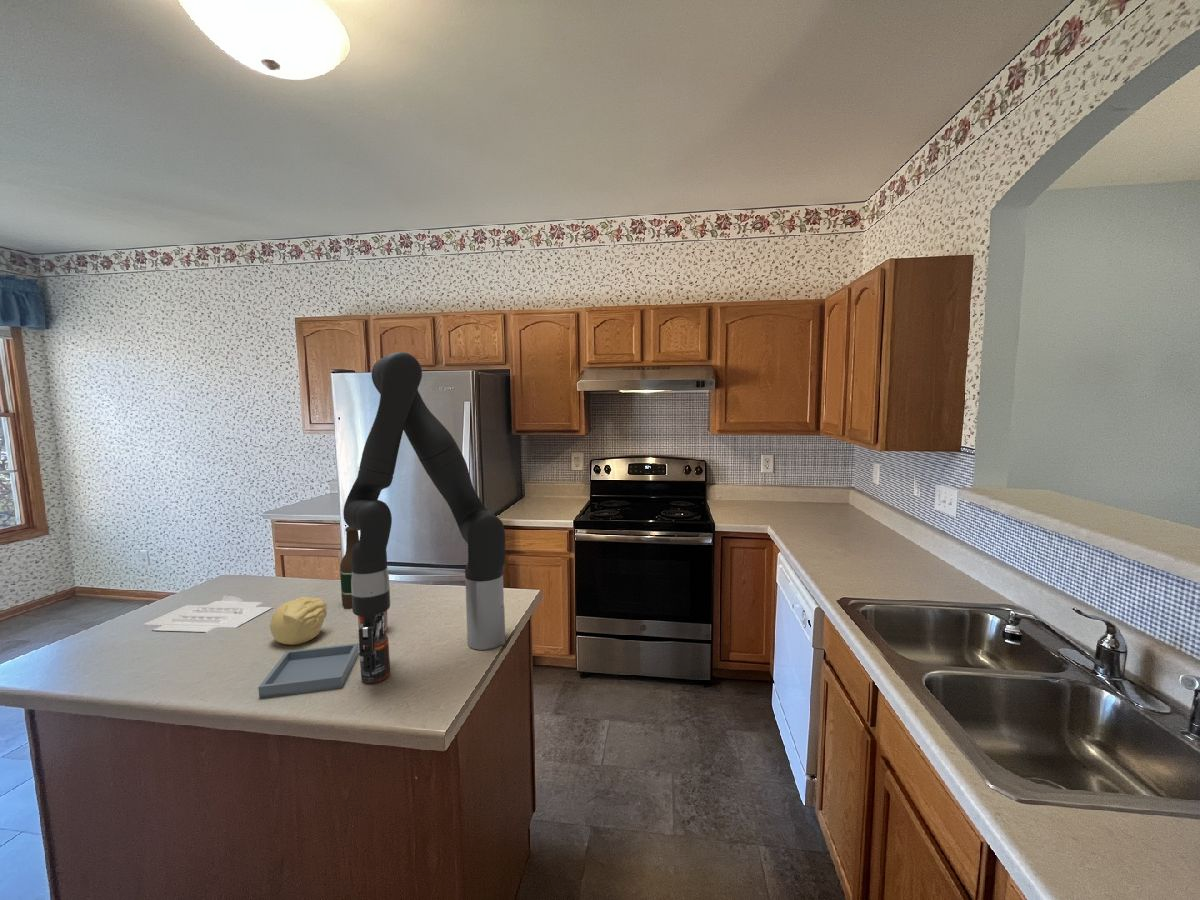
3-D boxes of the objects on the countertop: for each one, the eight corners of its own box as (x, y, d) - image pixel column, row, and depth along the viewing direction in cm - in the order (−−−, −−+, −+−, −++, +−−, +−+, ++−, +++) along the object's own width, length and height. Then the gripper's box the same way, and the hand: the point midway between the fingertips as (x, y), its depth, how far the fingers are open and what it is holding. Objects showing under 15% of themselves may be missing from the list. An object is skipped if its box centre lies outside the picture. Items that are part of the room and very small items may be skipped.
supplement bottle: (382, 667, 116) (379, 619, 115) (395, 676, 112) (393, 626, 111) (355, 678, 111) (353, 629, 110) (369, 688, 107) (366, 636, 106)
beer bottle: (344, 601, 155) (340, 524, 153) (372, 598, 158) (367, 522, 155) (339, 611, 148) (334, 530, 146) (368, 607, 150) (364, 528, 148)
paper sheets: (227, 636, 134) (225, 622, 134) (131, 636, 136) (129, 623, 136) (282, 605, 154) (280, 593, 154) (197, 606, 157) (196, 595, 156)
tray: (358, 653, 122) (358, 643, 122) (341, 688, 107) (341, 676, 107) (287, 661, 119) (286, 651, 118) (259, 698, 104) (258, 687, 103)
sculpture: (302, 651, 123) (299, 609, 123) (260, 647, 126) (257, 605, 125) (335, 631, 135) (333, 592, 134) (296, 627, 137) (294, 589, 136)
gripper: (383, 599, 104) (386, 675, 105) (394, 577, 117) (397, 644, 119) (343, 603, 102) (347, 680, 103) (359, 579, 116) (363, 647, 117)
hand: (374, 660), depth 111 cm, fingers open, 8 cm apart
